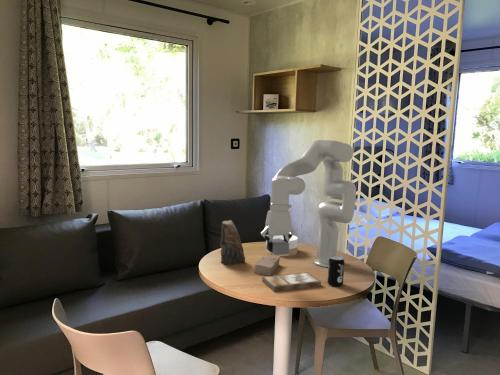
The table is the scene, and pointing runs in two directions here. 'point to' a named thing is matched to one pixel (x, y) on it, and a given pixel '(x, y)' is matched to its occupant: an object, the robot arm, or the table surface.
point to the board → (291, 281)
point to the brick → (266, 265)
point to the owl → (231, 245)
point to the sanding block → (279, 248)
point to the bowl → (292, 244)
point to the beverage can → (336, 271)
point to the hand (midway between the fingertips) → (277, 250)
